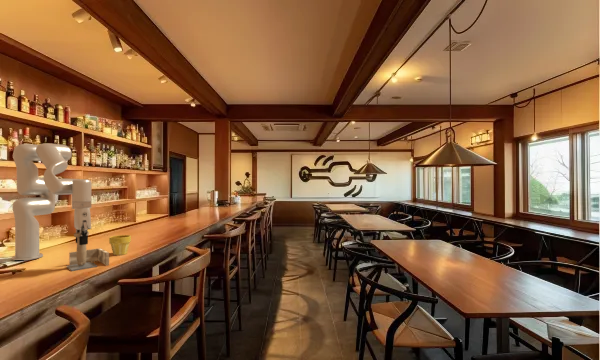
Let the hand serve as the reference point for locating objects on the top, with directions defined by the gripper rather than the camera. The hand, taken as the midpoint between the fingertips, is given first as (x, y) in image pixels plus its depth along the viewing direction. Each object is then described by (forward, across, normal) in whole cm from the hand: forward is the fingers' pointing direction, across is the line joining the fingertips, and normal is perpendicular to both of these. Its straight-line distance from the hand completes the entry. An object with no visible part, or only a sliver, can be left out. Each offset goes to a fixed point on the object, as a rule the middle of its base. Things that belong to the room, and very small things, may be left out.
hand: (81, 243), depth 145 cm
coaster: (+11, 0, 0) cm, 11 cm away
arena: (+11, +1, -3) cm, 12 cm away
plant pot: (+11, +15, -21) cm, 28 cm away
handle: (+10, 0, 0) cm, 10 cm away
